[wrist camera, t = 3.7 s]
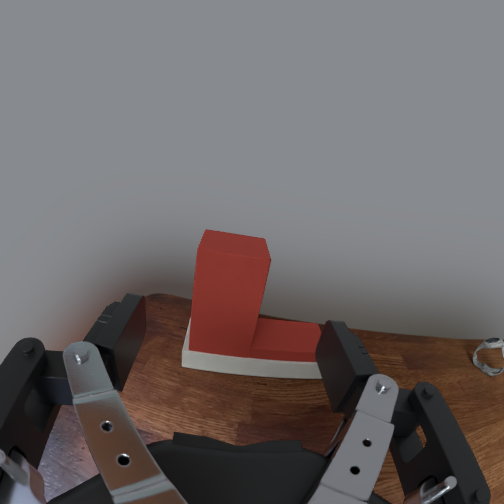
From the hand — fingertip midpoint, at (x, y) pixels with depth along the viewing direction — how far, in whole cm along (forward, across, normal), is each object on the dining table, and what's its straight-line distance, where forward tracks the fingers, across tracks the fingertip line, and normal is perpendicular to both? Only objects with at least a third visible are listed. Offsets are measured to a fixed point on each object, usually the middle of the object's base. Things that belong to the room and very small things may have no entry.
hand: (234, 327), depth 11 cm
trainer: (+10, -3, +11) cm, 15 cm away
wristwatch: (+6, -36, +11) cm, 38 cm away
